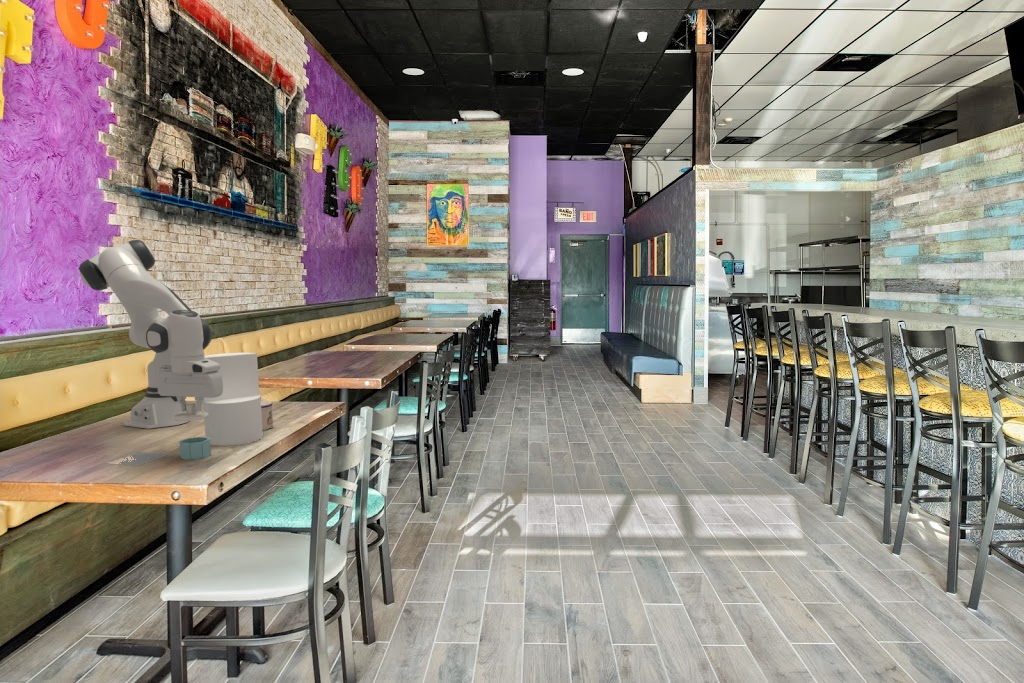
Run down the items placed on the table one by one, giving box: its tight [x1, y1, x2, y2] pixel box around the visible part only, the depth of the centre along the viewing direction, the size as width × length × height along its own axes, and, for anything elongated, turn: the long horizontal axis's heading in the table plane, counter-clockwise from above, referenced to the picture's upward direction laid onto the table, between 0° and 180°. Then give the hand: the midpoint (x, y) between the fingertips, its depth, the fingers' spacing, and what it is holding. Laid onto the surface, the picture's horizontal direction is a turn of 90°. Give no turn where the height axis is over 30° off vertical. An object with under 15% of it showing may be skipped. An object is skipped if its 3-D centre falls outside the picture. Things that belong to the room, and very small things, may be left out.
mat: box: [118, 451, 171, 467], centre depth 181 cm, size 12×12×1 cm
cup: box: [179, 436, 212, 461], centre depth 183 cm, size 8×8×5 cm
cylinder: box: [202, 352, 264, 447], centre depth 202 cm, size 17×17×28 cm
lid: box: [174, 402, 208, 422], centre depth 182 cm, size 9×9×4 cm
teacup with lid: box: [261, 398, 274, 431], centre depth 219 cm, size 12×9×12 cm
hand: (191, 411), depth 182 cm, fingers closed on lid, 3 cm apart
